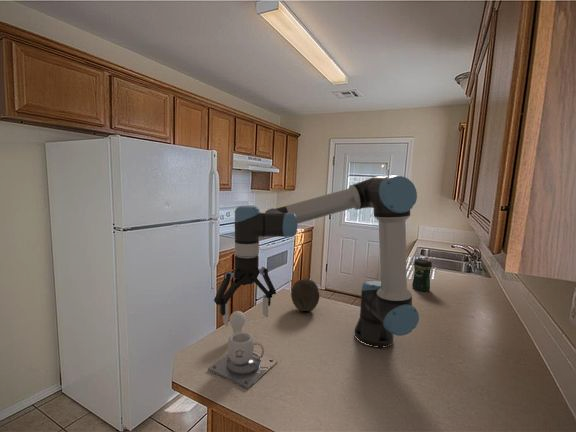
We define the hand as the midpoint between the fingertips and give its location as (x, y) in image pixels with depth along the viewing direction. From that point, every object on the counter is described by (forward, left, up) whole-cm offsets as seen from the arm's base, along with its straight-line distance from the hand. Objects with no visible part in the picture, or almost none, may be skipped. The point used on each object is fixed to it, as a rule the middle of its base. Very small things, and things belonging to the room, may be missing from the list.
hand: (246, 319), depth 95 cm
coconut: (+4, -51, -16) cm, 53 cm away
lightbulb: (+13, -12, -16) cm, 24 cm away
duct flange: (0, 0, -16) cm, 16 cm away
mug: (0, 0, -14) cm, 14 cm away
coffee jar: (-40, -121, -16) cm, 128 cm away
